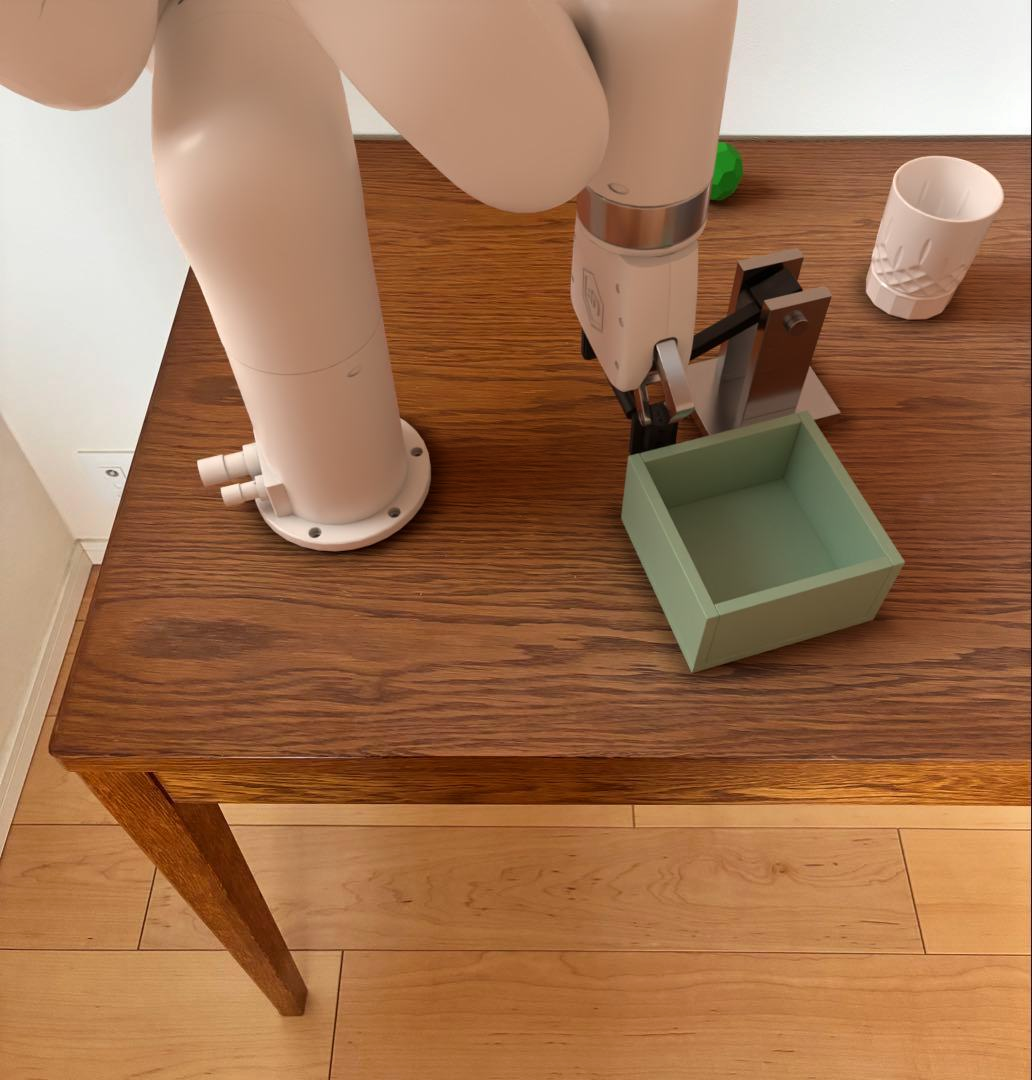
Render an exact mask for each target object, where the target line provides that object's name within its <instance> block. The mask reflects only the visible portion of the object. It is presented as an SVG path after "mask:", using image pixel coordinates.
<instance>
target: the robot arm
mask: <svg viewBox="0 0 1032 1080" xmlns="http://www.w3.org/2000/svg"><path fill="white" fill-rule="evenodd" d="M738 9H739V0H0V86H2V87H4V88H6V89H7V90H9V91H11V92H13V93H15V94H17V95H19V96H22V97H24V98H26V99H28V100H31V101H33V102H35V103H37V104H40V105H42V106H45V107H47V108H51V109H57V110H63V111H69V112H81V111H92V110H99V109H100V108H101V109H102V108H103V107H106V106H108V105H110V104H112V103H114V102H116V101H118V100H120V99H121V98H122V97H124V96H125V95H126V94H127V93H128V92H129V91H130V90H131V89H132V88H133V87H134V85H135V84H136V82H137V81H138V79H139V78H140V76H141V75H142V73H143V72H144V70H146V71H148V72H149V73H150V74H151V75H152V81H151V104H150V105H151V111H150V112H151V113H150V115H151V116H150V137H151V139H150V140H151V156H152V166H153V172H154V179H155V184H156V190H157V194H158V197H159V201H160V204H161V207H162V210H163V213H164V215H165V218H166V220H167V222H168V225H169V228H170V229H171V231H172V233H173V235H174V237H175V239H176V241H177V243H178V245H179V247H180V249H181V251H182V252H183V254H184V256H185V258H186V261H188V264H189V266H190V268H191V270H192V271H193V274H194V276H195V278H196V280H197V282H198V284H199V287H200V289H201V291H202V294H203V297H204V299H205V302H206V305H207V307H208V309H209V313H210V315H211V319H212V321H213V323H214V326H215V329H216V331H217V334H218V337H219V339H220V342H221V344H222V346H223V348H224V351H225V354H226V356H227V359H228V361H229V364H230V367H231V370H232V373H233V376H234V378H235V381H236V384H237V386H238V387H237V388H238V390H239V392H240V395H241V398H242V400H243V404H244V406H245V409H246V411H247V414H248V418H249V419H250V423H251V425H252V428H253V429H252V431H253V435H254V442H250V443H247V444H243V445H242V451H237V452H233V453H228V454H225V455H224V453H222V454H218V455H214V456H210V457H206V458H201V459H198V460H197V461H196V462H197V469H198V472H199V476H200V477H199V478H200V480H201V482H202V485H203V486H204V488H207V487H211V486H215V485H219V484H223V483H229V482H232V481H231V480H234V479H239V478H244V477H247V476H249V477H250V479H251V481H248V482H247V481H246V482H242V483H240V482H238V483H233V484H230V485H226V486H222V487H220V493H221V497H222V498H221V499H222V500H223V503H224V506H225V507H226V508H229V507H231V506H237V505H240V504H244V503H245V502H248V501H253V500H254V501H255V504H256V506H257V509H258V512H259V513H260V515H261V516H262V519H263V520H264V522H265V523H266V524H267V526H269V528H270V529H271V530H273V532H274V533H276V534H277V535H278V536H280V537H282V538H283V539H285V540H286V541H287V542H290V543H292V544H295V545H296V546H299V547H302V548H307V549H311V550H315V551H324V552H326V551H327V552H342V551H343V552H344V551H351V550H356V549H360V548H361V549H362V548H365V547H369V546H371V545H375V544H376V543H378V542H381V541H383V540H385V539H387V538H389V537H390V536H392V535H394V534H395V533H397V532H398V531H400V530H402V528H403V527H404V526H406V525H407V524H408V523H409V522H411V520H412V519H413V518H414V517H415V516H416V514H417V513H418V512H419V510H420V509H421V508H422V507H423V505H424V503H425V500H426V498H427V496H428V494H429V491H430V486H431V482H432V465H431V461H430V454H429V450H428V448H427V446H426V443H425V441H424V439H423V438H422V437H421V436H420V434H419V432H418V431H417V430H416V429H415V428H414V427H413V426H412V425H411V424H410V423H409V422H408V421H406V420H405V419H403V418H401V415H400V409H399V403H398V397H397V393H396V386H395V381H394V375H393V369H392V363H391V357H390V351H389V346H388V340H387V339H388V338H387V334H386V328H385V323H384V317H383V311H382V306H381V299H380V293H379V288H378V284H377V283H378V282H377V277H376V271H375V267H374V260H373V255H372V248H371V242H370V237H369V229H368V223H367V216H366V208H365V207H366V206H365V198H364V191H363V184H362V177H361V171H360V164H359V160H358V153H357V149H356V144H355V139H354V133H353V129H352V128H353V127H352V122H351V118H350V113H349V107H348V102H347V97H346V91H345V88H344V85H343V80H342V76H341V72H342V74H343V75H344V76H345V77H346V79H347V80H349V82H350V83H351V84H352V85H353V86H354V88H355V89H356V90H357V91H358V92H359V94H361V96H362V97H363V98H364V99H365V100H366V101H367V102H368V103H369V105H370V106H371V107H372V108H373V109H374V110H375V111H376V112H377V114H378V115H380V116H381V117H382V118H383V119H384V120H385V121H386V122H387V123H388V124H389V125H390V126H391V127H392V128H393V129H394V130H395V131H396V132H397V133H398V134H399V135H401V137H403V139H405V140H406V141H407V142H408V143H409V144H410V145H411V146H412V147H413V148H414V149H415V150H416V151H418V152H419V153H420V154H421V155H422V156H423V157H424V158H425V159H426V160H427V161H428V162H429V163H430V164H431V165H433V166H434V167H435V168H436V169H437V170H438V171H439V172H440V173H441V174H442V175H443V176H445V178H447V179H448V180H449V181H450V182H451V183H453V185H455V186H456V187H457V188H459V189H460V190H461V191H463V192H464V193H466V194H467V195H468V196H470V197H471V198H473V199H475V200H477V201H479V202H481V203H483V204H484V205H486V206H489V207H492V208H495V209H498V210H501V211H503V212H509V213H516V214H535V213H539V212H544V211H549V210H551V209H554V208H557V207H559V206H562V205H564V204H566V203H567V202H569V201H570V200H572V199H573V198H575V197H576V207H575V208H576V212H575V224H574V233H573V246H572V258H571V275H570V277H571V278H570V300H571V304H572V307H573V310H574V313H575V315H576V317H577V320H578V321H579V324H580V326H581V332H580V337H581V339H580V341H581V342H580V343H581V344H580V354H581V356H582V358H583V360H584V361H585V360H586V361H593V360H595V359H597V360H598V362H599V364H600V366H601V369H602V368H603V369H602V371H603V370H604V371H603V373H604V372H605V373H604V375H605V374H606V375H607V377H608V379H609V381H610V382H611V383H612V385H614V386H615V387H616V388H617V389H618V390H620V391H622V392H626V391H630V390H633V391H634V396H635V402H636V407H637V412H636V413H634V414H633V415H632V420H630V432H629V443H628V453H629V454H630V455H629V456H631V455H634V454H638V453H639V454H640V453H643V452H647V451H651V450H655V449H658V448H662V447H666V446H670V445H674V444H677V437H678V431H679V424H680V422H682V421H686V420H688V419H689V415H690V416H691V413H692V412H693V411H694V409H695V403H694V399H693V396H692V393H691V389H690V386H689V383H688V380H687V377H686V374H685V371H686V369H687V367H688V365H689V364H690V362H689V360H690V355H691V350H692V344H693V337H694V335H695V329H696V317H697V303H698V285H699V242H698V239H699V237H700V236H701V235H702V234H703V232H704V230H705V228H706V225H707V223H708V217H709V216H708V215H709V209H710V202H711V200H710V196H711V189H712V182H713V175H714V166H715V160H716V153H717V146H718V142H719V139H720V133H721V125H722V119H723V113H724V105H725V100H726V91H727V86H728V79H729V72H730V66H731V58H732V53H733V52H732V51H733V47H734V46H733V45H734V39H735V32H736V25H737V18H738ZM653 360H654V361H655V364H656V367H657V370H656V371H652V372H649V370H650V369H651V367H652V362H653ZM606 375H605V376H606ZM656 383H657V384H658V383H661V386H662V390H663V392H664V393H663V394H664V400H662V401H658V402H654V403H650V399H649V394H648V388H647V386H646V385H648V386H649V385H653V384H656Z"/></svg>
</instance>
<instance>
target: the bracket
mask: <svg viewBox="0 0 1032 1080" xmlns="http://www.w3.org/2000/svg"><path fill="white" fill-rule="evenodd" d="M804 260H805V256H804V255H803V253H802V251H801V250H800V249H799V247H793V248H790V249H785V250H781V251H776V252H771V253H767V254H763V255H760V256H759V255H758V256H755V257H750V258H746V259H742V260H738V261H737V264H736V269H735V273H734V278H733V284H732V289H731V293H730V297H729V302H728V308H727V311H726V312H727V313H726V317H727V316H729V315H730V314H732V313H734V312H736V311H737V310H739V309H741V308H743V307H744V306H746V305H748V304H750V303H751V302H753V301H754V300H753V297H752V294H751V292H750V288H751V287H753V286H755V285H756V284H758V283H760V282H762V281H763V280H765V279H767V278H769V277H770V276H772V275H774V274H776V273H777V272H779V271H781V270H783V269H784V268H786V267H788V268H789V270H790V271H791V273H792V274H793V276H794V277H795V278H796V280H797V281H798V282H799V278H800V275H801V274H800V273H801V270H802V266H803V263H804V262H803V261H804ZM832 297H833V294H832V293H831V291H830V290H829V289H828V287H827V286H826V285H822V286H819V287H815V288H810V289H806V290H803V291H801V292H797V293H793V294H789V295H784V296H780V297H776V298H772V299H767V300H764V302H763V306H762V311H761V315H760V319H759V323H757V324H755V325H753V326H752V327H750V328H748V329H746V330H745V331H743V332H741V333H739V334H738V335H736V336H734V337H732V338H730V339H729V340H727V341H725V342H723V343H722V344H720V345H719V349H718V350H719V351H718V356H717V357H715V358H710V359H706V360H702V361H698V362H693V363H689V364H688V367H687V369H686V371H685V374H686V377H687V380H688V383H689V386H690V389H691V393H692V396H693V399H694V403H695V409H694V411H693V412H692V413H691V414H690V416H691V418H692V420H693V422H694V423H695V425H696V427H697V430H698V431H699V433H700V435H701V437H705V436H709V435H713V434H717V433H721V432H725V431H729V430H733V429H737V428H741V427H745V426H748V425H752V424H756V423H760V422H764V421H768V420H772V419H776V418H780V417H784V416H788V415H791V414H797V413H799V412H803V411H808V412H809V413H810V415H811V416H812V418H813V420H814V421H815V423H816V424H817V426H818V427H819V428H823V427H827V426H831V425H834V424H835V425H836V424H837V423H838V421H839V419H840V417H841V410H840V409H839V407H838V406H837V404H836V403H835V402H834V399H832V397H831V395H830V394H829V392H828V391H827V389H826V387H825V386H824V384H823V383H822V381H821V380H820V379H819V377H818V376H817V375H816V373H815V371H814V369H813V368H812V367H811V363H812V361H813V357H814V355H815V351H816V348H817V344H818V342H819V338H820V335H821V331H822V330H823V329H822V328H823V327H824V326H823V325H824V322H825V319H826V316H827V313H828V310H829V307H830V303H831V301H832Z"/></svg>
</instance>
